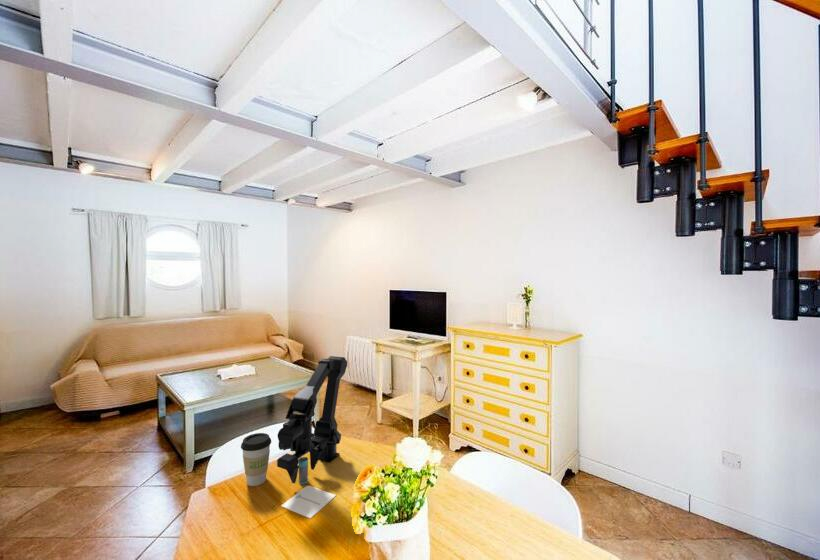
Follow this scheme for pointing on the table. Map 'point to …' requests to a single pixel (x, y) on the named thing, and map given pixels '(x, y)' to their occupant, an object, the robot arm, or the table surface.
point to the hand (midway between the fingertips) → (303, 476)
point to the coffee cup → (256, 457)
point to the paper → (308, 501)
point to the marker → (303, 470)
